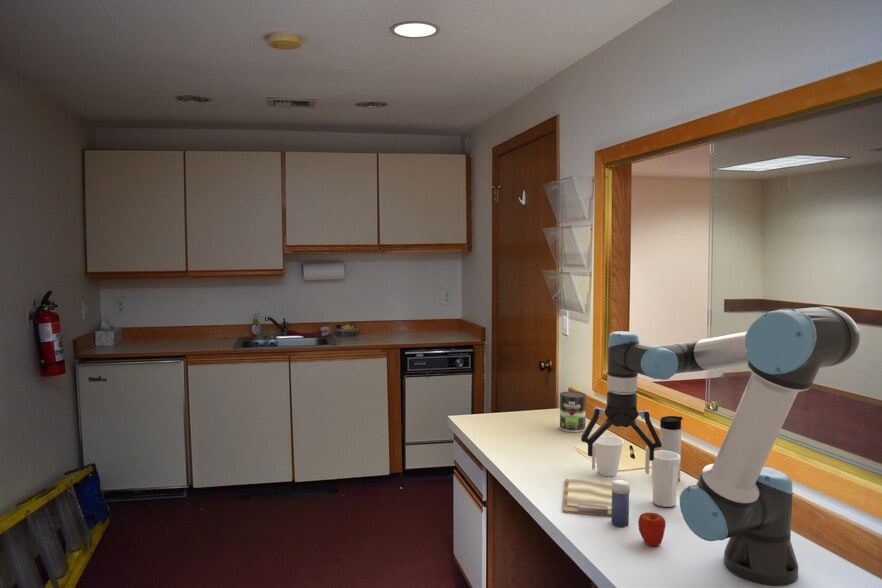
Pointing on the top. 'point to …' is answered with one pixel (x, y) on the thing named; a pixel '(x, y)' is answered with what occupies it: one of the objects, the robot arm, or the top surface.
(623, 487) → the blue bottle
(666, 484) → the cup
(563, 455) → the top surface
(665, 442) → the travel mug
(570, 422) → the coffee can
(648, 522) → the apple
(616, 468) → the cup
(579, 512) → the clipboard
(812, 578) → the top surface
